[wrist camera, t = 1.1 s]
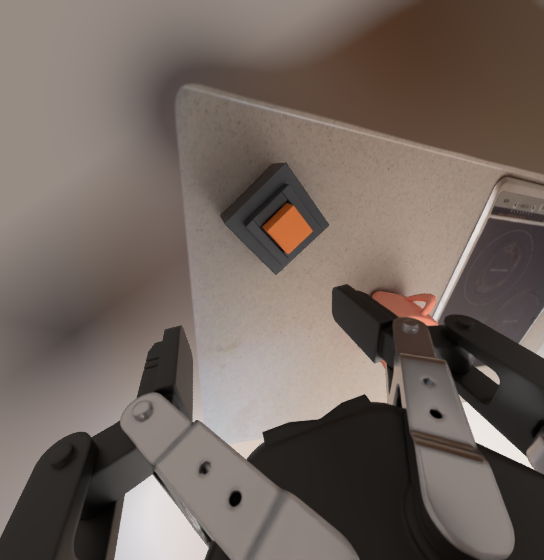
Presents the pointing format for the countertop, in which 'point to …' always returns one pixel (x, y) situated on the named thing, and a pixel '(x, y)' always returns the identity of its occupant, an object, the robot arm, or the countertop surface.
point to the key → (287, 228)
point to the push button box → (263, 205)
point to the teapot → (407, 306)
